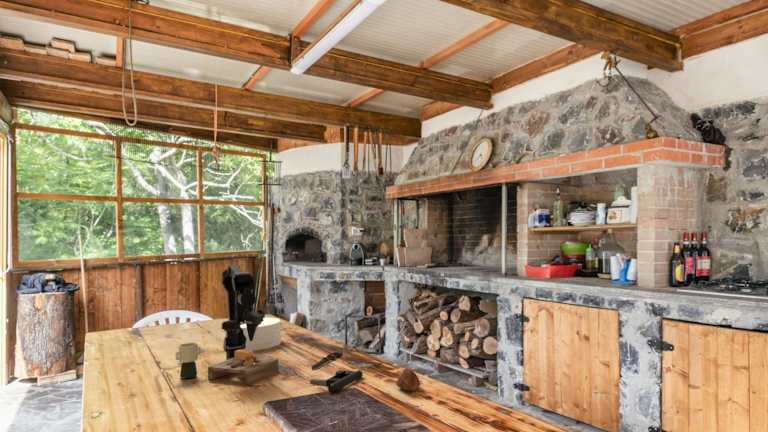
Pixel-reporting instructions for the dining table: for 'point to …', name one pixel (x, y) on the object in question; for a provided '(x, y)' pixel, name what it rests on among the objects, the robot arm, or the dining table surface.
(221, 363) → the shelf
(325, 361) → the knife
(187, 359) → the character mug
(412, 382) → the fossil
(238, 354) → the tall grooved wooden block
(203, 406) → the dining table surface
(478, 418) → the dining table surface
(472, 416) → the dining table surface
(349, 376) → the door handle
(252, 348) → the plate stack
